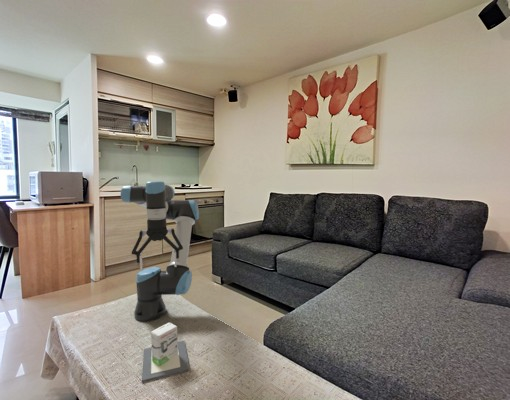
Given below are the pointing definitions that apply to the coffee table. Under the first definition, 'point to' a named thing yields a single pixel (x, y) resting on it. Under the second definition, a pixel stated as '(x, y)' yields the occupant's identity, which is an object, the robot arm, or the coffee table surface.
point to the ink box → (164, 343)
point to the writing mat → (166, 369)
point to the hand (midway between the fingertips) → (158, 268)
